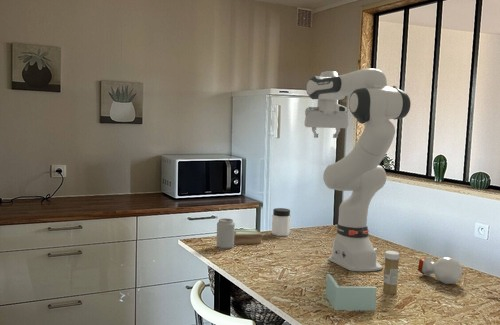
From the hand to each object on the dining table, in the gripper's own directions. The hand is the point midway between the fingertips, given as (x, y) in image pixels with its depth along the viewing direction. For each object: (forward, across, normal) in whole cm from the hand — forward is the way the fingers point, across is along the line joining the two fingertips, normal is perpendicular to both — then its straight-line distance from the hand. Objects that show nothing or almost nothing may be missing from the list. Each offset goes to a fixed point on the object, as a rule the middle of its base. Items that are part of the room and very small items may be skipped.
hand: (325, 137), depth 215 cm
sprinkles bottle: (+47, -3, -68) cm, 83 cm away
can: (+48, -47, -8) cm, 67 cm away
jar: (+48, -16, +12) cm, 52 cm away
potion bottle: (+47, +21, -60) cm, 79 cm away
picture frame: (+48, -36, +2) cm, 59 cm away
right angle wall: (+48, -21, -74) cm, 90 cm away
